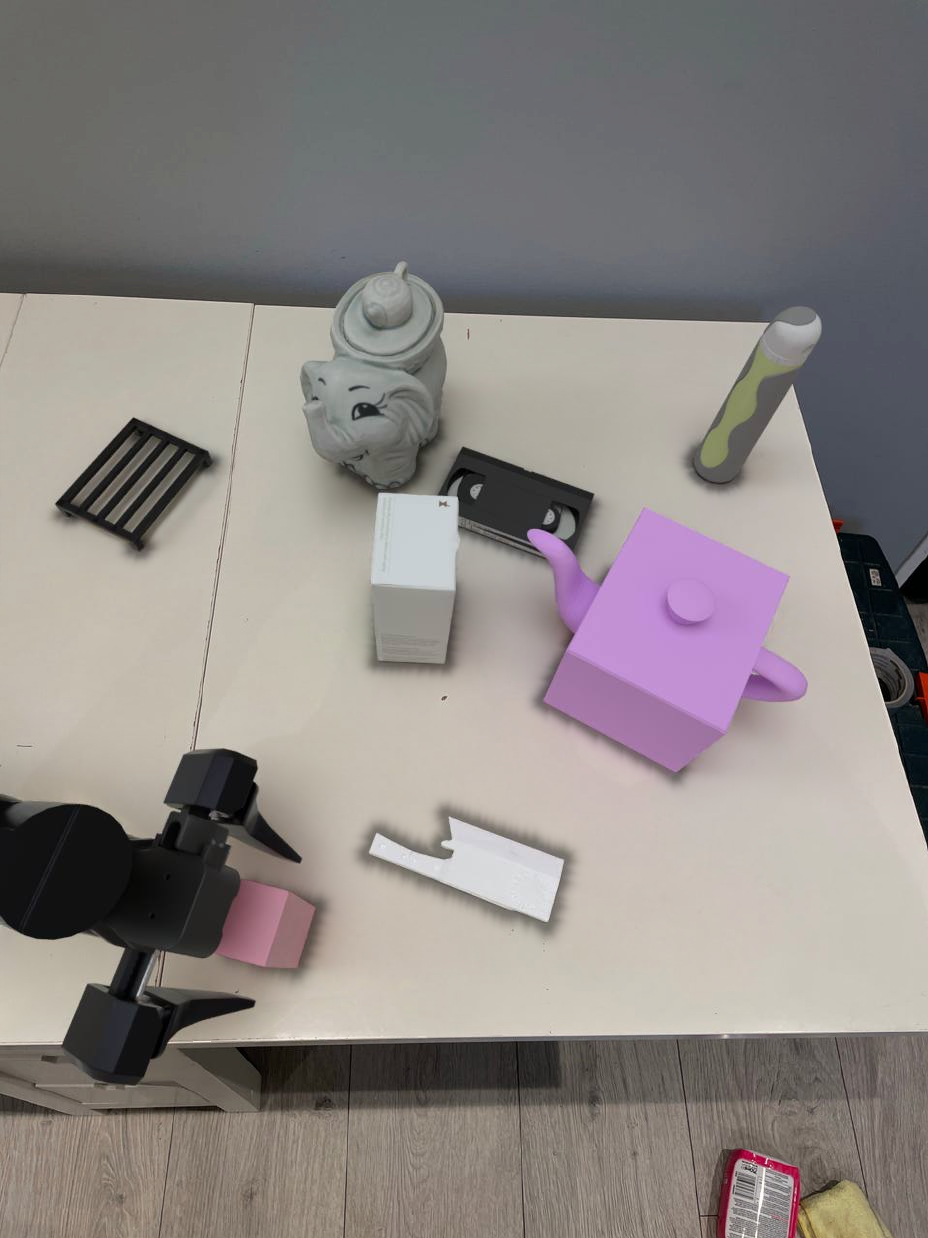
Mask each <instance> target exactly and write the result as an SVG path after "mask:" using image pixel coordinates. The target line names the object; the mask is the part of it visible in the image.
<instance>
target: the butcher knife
mask: <svg viewBox="0 0 928 1238" xmlns="http://www.w3.org/2000/svg"><path fill="white" fill-rule="evenodd" d="M448 824H449V829H450V836H451V839H450V840H448V839H445V840H443V841H441V843H440V846H441V847H442V848H444V849H447V850H449V851H452V852H453V853H452V855H451V857H449V858H445V859H443V858H439V857H436V856H431V855H428V854H427V855H426V854H424V853H420V852H417V851H414V850H411V849H409V848H407V847H405V846H403V845H401V844H399V843H397V842H395V841H393V840H392V839H389V838H388V837H386V836H384V835H382V834H381V833H378V832H376V834H375V836H374V838H373V840H372V843H371V846H370V848H369V850H368V855H371V856H372V857H373V856H374V857H376V858H378V859H380V860H381V859H382V860H384V861H386V862H388V863H391V864H394V865H397V866H399V867H402V868H405V869H407V870H410V871H412V872H415V873H417V874H419V875H423V876H424V877H428V878H430V879H433V880H436V881H437V882H440V883H442V884H445V885H447V886H450V887H452V888H455V889H456V890H460V891H461V892H463V893H468V894H469V895H472V896H474V897H476V898H479V899H481V900H483V901H486V902H489V903H492V904H493V905H496V906H499V907H500V908H504V909H506V910H509V911H512V912H514V911H516V912H519V913H520V914H523V915H525V916H529V917H531V918H534V919H537V920H539V921H542V922H544V923H548V922H549V919H550V916H551V913H552V910H553V906H554V904H555V899H556V895H557V891H558V888H559V885H560V881H561V877H562V872H563V867H564V863H565V859H562V858H560V857H557V856H554V855H552V854H549V853H547V852H544V851H541V850H539V849H536V848H534V847H531V846H528V845H526V844H523V843H520V842H518V841H516V840H515V841H514V840H512V839H509V838H507V837H504V836H501V835H499V834H497V833H494V832H492V831H488V830H485V829H483V828H480V827H477V826H476V825H472V824H470V823H467V822H464V821H462V820H459V819H457V818H454V817H451V816H448Z"/></svg>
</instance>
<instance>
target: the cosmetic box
mask: <svg viewBox="0 0 928 1238" xmlns="http://www.w3.org/2000/svg"><path fill="white" fill-rule="evenodd" d="M458 512H459V501H458V497H457V496H437V495H429V494H425V495H424V494H407V493H393V492H378V494H377V501H376V511H375V520H374V521H375V523H374V530H373V532H374V533H373V544H372V552H371V553H372V554H371V555H372V556H371V565H370V566H371V567H370V587H371V588H370V589H371V598H372V599H371V600H372V611H373V623H374V633H375V636H374V637H375V646H376V656H377V657H376V658H377V661H379V662H396V663H397V662H398V663H419V664H421V663H422V664H438V665H439V664H440V665H445V664H446V659H447V651H448V645H449V638H450V633H451V632H450V631H451V625H452V618H453V611H454V605H455V599H456V594H457V593H456V592H457V582H458V581H457V579H458V577H457V576H458V550H459V547H460V543H461V539H460V535H459V526H458Z"/></svg>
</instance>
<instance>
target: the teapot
mask: <svg viewBox="0 0 928 1238" xmlns="http://www.w3.org/2000/svg"><path fill="white" fill-rule="evenodd" d="M527 536H528V539H529V540H530V542H531V543H532V544H533V545H534V546H535V547H536V548H537V549H538V550H539V551H540V552H541V553H542V554H543V555H544V556H545V557H546V558H547V559H546V560H547V561H548V563H549V565H550V568H551V570H552V575H553V581H554V583H553V584H554V596H555V597H554V598H555V604H556V608H557V613H558V614H559V616H560V618H561V620H562V621H563V623H564V624H565V625H566V626H567V628H568V629H569V630H570V631H571V632H572V633H573V634H574V635H573V637H572V639H571V640H570V643H569V644H568V646H567V648H566V650H565V652H564V654H563V656H562V658H561V661H560V662H559V665H558V667H557V670H556V672H555V674H554V675H553V678H552V680H551V682H550V685H549V688H548V689H547V691H546V693H545V696H544V697H543V700H542V702H543V703H545V704H547V705H549V706H550V707H552V708H554V709H555V710H558V711H560V712H562V713H564V714H565V715H567V716H569V717H571V718H573V719H574V720H577V721H578V722H581V723H582V724H583V725H586V726H588V727H590V728H591V729H593V730H595V731H597V732H599V733H601V734H603V735H604V736H607V737H608V738H609V739H612V740H614V741H616V742H618V743H620V744H622V745H624V746H625V747H627V748H629V749H631V750H633V751H634V752H637V753H638V754H640V755H642V756H644V757H646V758H647V759H649V760H651V761H653V762H655V763H656V764H658V765H660V766H662V767H664V768H666V769H668V770H670V771H671V772H673V773H675V774H676V773H678V772H679V771H680V770H682V769H683V768H684V767H685V766H687V765H688V764H690V762H692V761H693V760H694V759H695V758H697V757H698V756H700V755H701V754H702V753H703V752H705V751H706V750H707V749H709V748H710V747H711V746H713V745H714V744H716V742H718V741H719V740H720V739H722V738H723V737H724V736H725V735H726V734H727V732H728V730H729V727H730V725H731V722H732V719H733V717H734V715H735V712H736V710H737V708H738V705H739V703H740V701H741V699H746V700H751V701H752V700H753V701H759V702H765V703H766V702H768V703H790V702H795V701H798V700H800V699H802V698H803V697H804V696H805V695H806V694H807V692H808V687H809V682H808V680H807V678H806V676H805V674H804V673H803V672H802V671H801V670H800V669H799V668H798V667H796V666H795V665H794V664H793V663H792V662H790V661H788V660H787V659H785V658H783V657H782V656H780V655H779V654H777V653H775V652H773V651H772V650H770V649H768V648H766V647H764V646H763V645H764V642H765V639H766V636H767V634H768V632H769V629H770V627H771V624H772V622H773V619H774V618H775V614H776V612H777V610H778V607H779V605H780V603H781V600H782V597H783V595H784V593H785V590H786V588H787V586H788V583H789V580H790V578H791V576H790V575H789V574H787V573H784V572H782V571H779V570H778V569H776V568H774V567H771V566H769V565H768V564H766V563H763V562H761V561H759V560H757V559H755V558H753V557H751V556H749V555H748V554H744V553H743V552H741V551H739V550H737V549H735V548H732V547H730V546H728V545H726V544H724V543H722V542H720V541H718V540H716V539H714V538H711V537H709V536H707V535H705V534H703V533H700V532H698V531H696V530H695V529H692V528H690V527H689V526H686V525H683V524H681V523H679V522H677V521H675V520H673V519H671V518H668V517H667V516H664V515H662V514H660V513H657V512H656V511H654V510H652V509H650V508H648V507H646V506H643V508H642V510H641V511H640V513H639V515H638V516H637V519H636V521H635V523H634V525H633V526H632V528H631V530H630V532H629V533H628V535H627V537H626V539H625V541H624V543H623V545H622V546H621V549H620V550H619V552H618V554H617V556H616V557H615V559H614V561H613V563H612V565H611V567H610V569H609V571H608V572H607V574H606V576H605V578H604V580H603V581H602V583H601V585H599V584H598V583H596V582H595V580H592V579H591V578H590V577H589V576H588V575H587V574H586V573H585V572H584V570H583V569H582V568H581V566H580V563H579V560H578V559H577V557H576V555H575V553H574V552H573V550H572V551H571V550H570V548H569V547H568V546H567V545H566V544H565V543H564V542H563V541H561V540H560V539H559V538H557V537H556V536H554V535H552V534H550V533H548V532H546V531H543V530H539V529H531V530H529V531H528V533H527ZM752 672H753V673H752ZM754 673H755V674H754Z"/></svg>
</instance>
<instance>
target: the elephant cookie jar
mask: <svg viewBox="0 0 928 1238" xmlns="http://www.w3.org/2000/svg"><path fill="white" fill-rule="evenodd" d="M409 271H410V269H409V265H408V263H407V262H406V261H405V260H404V261H400V262H398V263H397V265H396V266H395V269H394V271H383V272H379V273H374V274H371V275H368V276H366V277H363V278H361V279H359V280H357V281H356V282H355V283H354V284H353V285H351V286H350V287H349V288H348V290H347V291H346V292H345V293H344V295H343V296H342V297H341V298H340V300H339V302H338V303H337V305H336V306H335V309H334V311H333V314H332V319H331V325H330V331H329V336H330V340H331V345H332V348H333V350H334V351H335V352H334V354H333V359H331V360H307V361H305V362H304V363H303V364H302V366H301V367H300V368H301V370H300V376H299V379H300V386H301V391H302V395H303V396H304V400H305V403H303V405H302V406H301V410H302V412H303V416H304V417H305V419H306V424H307V428H308V434H309V439H310V442H311V445H312V447H313V449H314V451H315V453H316V455H318V456H319V458H322V459H323V460H325V461H328V462H330V463H339V464H340V465H341V466H342V467H344V468H346V469H348V470H350V471H351V472H353V473H355V474H358V475H359V476H361V477H362V478H363V479H364V480H365V481H366V482H367V483H368V484H370V485H371V486H373V487H375V488H376V489H379V490H390V489H395V488H398V487H401V486H402V485H404V484H406V483H407V482H409V481H410V480H411V479H412V478H413V476H414V475H415V472H416V467H417V460H416V459H417V455H418V452H419V450H420V449H421V448H423V447H424V446H426V445H428V444H429V443H430V442H432V441H433V440H434V439H435V437H436V435H437V433H438V430H439V415H440V414H441V409H442V405H443V396H444V394H443V388H444V385H445V382H446V376H447V368H448V358H447V353H446V348H445V345H444V342H443V340H442V338H441V334H442V332H443V331H444V323H445V309H444V305H443V302H442V300H441V298H440V296H439V295H438V293H437V291H435V289H434V288H433V287H432V286H431V285H430V284H429V283H427V282H426V281H425V280H423V279H422V278H420V277H418V276H417V275H413V274H411V273H409Z"/></svg>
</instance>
